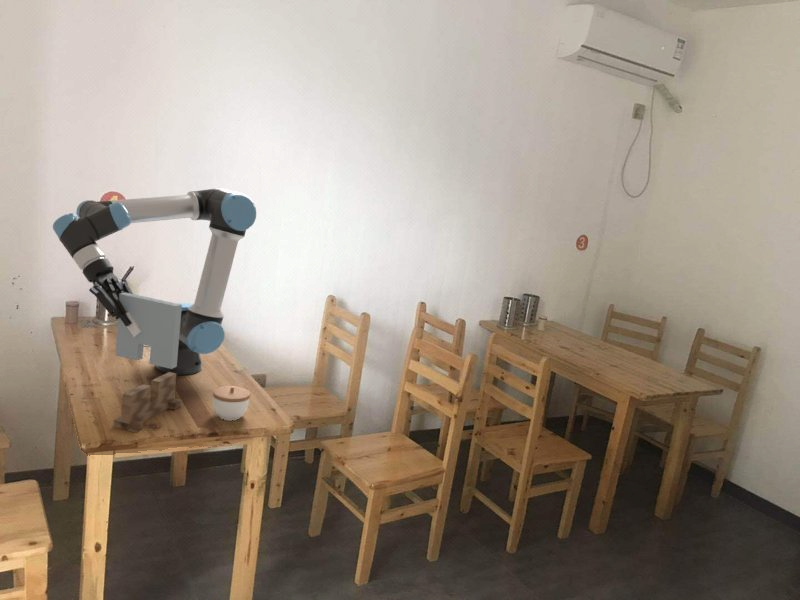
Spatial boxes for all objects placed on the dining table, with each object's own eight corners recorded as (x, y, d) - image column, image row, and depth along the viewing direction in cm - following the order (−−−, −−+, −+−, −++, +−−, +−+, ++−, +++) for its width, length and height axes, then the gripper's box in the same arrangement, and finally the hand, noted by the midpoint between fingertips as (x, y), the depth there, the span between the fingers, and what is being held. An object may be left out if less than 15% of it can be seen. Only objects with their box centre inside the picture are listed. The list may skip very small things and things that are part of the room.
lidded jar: (233, 407, 201) (236, 378, 200) (255, 419, 195) (258, 389, 193) (203, 414, 193) (206, 384, 191) (225, 426, 187) (228, 395, 185)
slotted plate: (115, 355, 184) (119, 293, 181) (121, 353, 187) (125, 292, 183) (171, 368, 180) (176, 306, 177) (176, 366, 183) (181, 304, 179)
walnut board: (160, 401, 198) (162, 370, 196) (180, 406, 196) (183, 375, 194) (113, 426, 176) (115, 392, 174) (135, 432, 175) (138, 397, 173)
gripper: (104, 268, 191) (149, 334, 191) (65, 275, 176) (114, 346, 176) (121, 254, 189) (167, 320, 189) (82, 259, 174) (132, 331, 174)
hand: (141, 332), depth 183 cm, fingers closed on slotted plate, 2 cm apart
